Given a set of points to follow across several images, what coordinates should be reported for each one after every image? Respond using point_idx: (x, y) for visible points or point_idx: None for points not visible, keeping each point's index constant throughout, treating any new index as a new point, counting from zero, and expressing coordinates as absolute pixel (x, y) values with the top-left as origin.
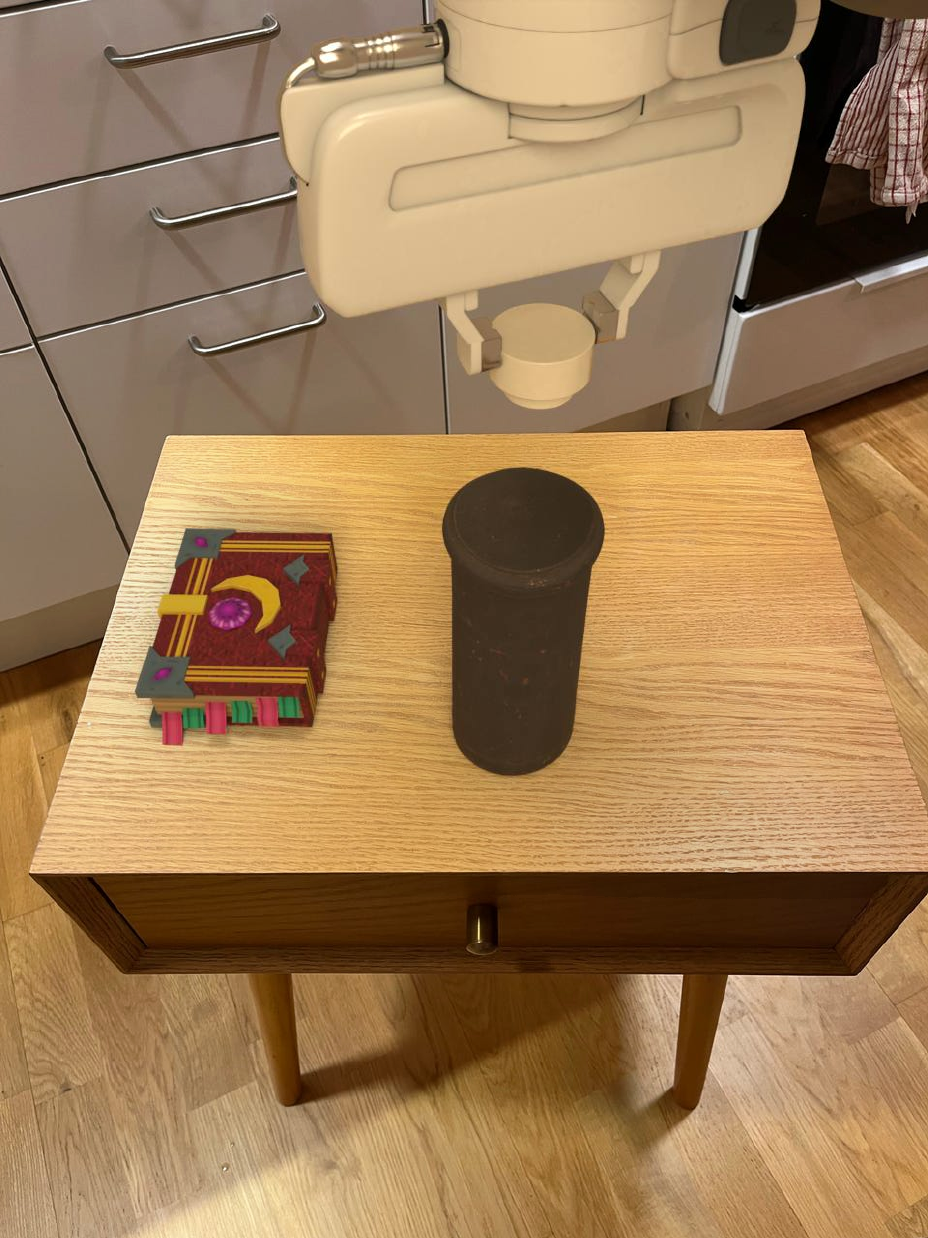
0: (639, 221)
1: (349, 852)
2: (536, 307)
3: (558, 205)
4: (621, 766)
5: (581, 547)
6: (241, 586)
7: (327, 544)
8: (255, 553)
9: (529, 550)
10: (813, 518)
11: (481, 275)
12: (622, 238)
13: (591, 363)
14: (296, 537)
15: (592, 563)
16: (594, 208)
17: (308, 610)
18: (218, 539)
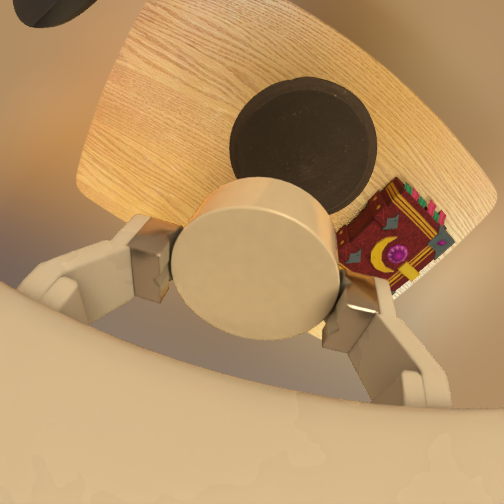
0: (1, 369)
1: (421, 108)
2: (223, 323)
3: None
4: (272, 54)
5: (284, 92)
6: (382, 264)
7: None
8: None
9: (329, 117)
10: (88, 141)
11: (442, 437)
12: (48, 361)
13: (206, 201)
14: None
15: (278, 82)
16: (90, 497)
17: (367, 232)
18: None
